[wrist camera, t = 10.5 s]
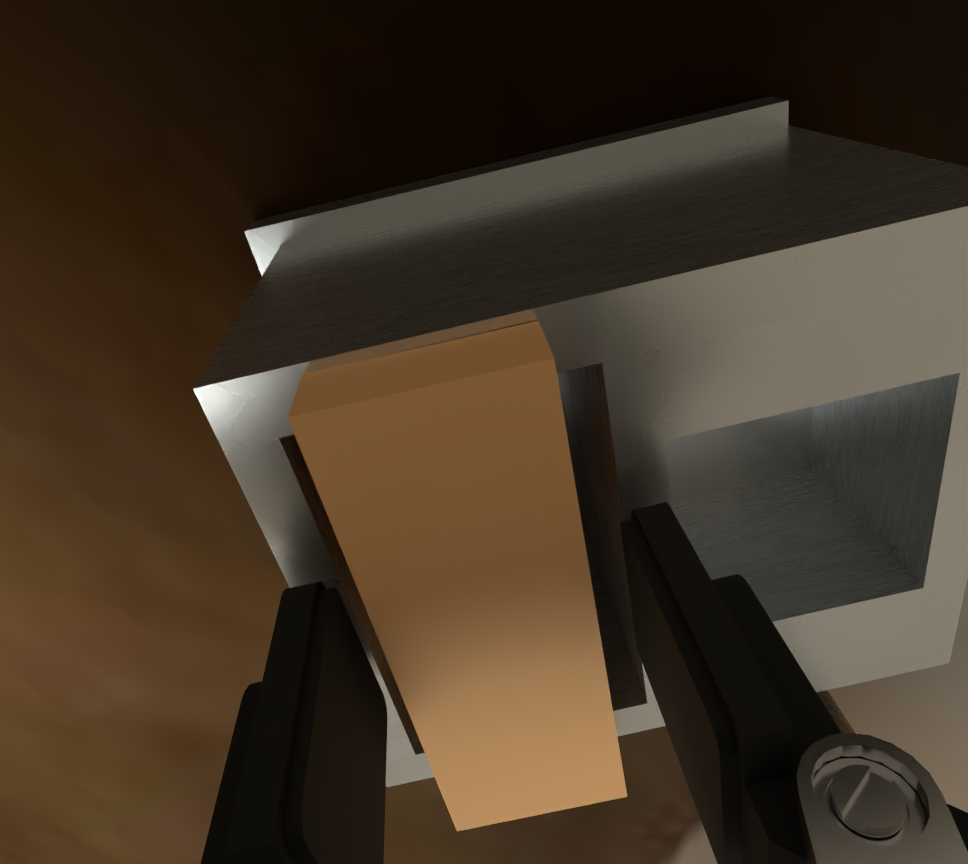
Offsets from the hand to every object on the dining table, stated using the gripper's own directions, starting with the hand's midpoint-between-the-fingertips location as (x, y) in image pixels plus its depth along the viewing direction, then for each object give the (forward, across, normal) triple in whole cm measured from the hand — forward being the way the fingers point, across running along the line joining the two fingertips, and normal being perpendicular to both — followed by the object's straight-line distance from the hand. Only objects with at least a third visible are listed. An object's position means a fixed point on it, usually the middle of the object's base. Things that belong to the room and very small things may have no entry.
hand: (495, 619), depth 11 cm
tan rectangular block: (+7, 0, 0) cm, 7 cm away
